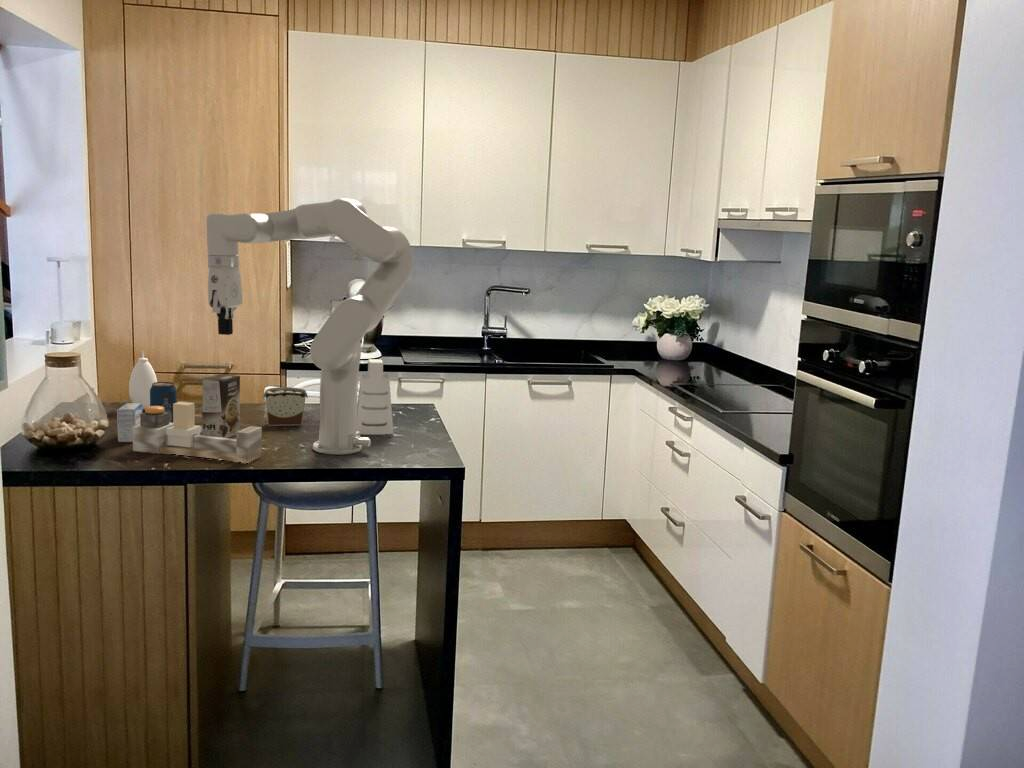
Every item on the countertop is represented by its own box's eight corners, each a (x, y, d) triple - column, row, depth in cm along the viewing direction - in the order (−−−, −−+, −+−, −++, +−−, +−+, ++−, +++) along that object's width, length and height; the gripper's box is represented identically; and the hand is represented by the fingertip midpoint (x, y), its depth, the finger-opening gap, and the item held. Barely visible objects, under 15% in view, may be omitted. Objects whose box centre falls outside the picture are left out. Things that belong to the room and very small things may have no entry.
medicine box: (135, 442, 233) (135, 409, 231) (117, 442, 232) (116, 409, 230) (143, 435, 240) (142, 403, 239) (125, 435, 239) (124, 402, 238)
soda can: (164, 422, 255) (163, 380, 253) (182, 426, 252) (182, 383, 250) (144, 426, 249) (143, 383, 247) (163, 430, 246) (163, 387, 244)
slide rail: (262, 456, 227) (262, 420, 225) (246, 464, 219) (247, 427, 217) (152, 443, 233) (151, 408, 231) (132, 450, 225) (132, 415, 223)
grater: (355, 434, 254) (357, 363, 251) (354, 425, 264) (356, 357, 261) (393, 434, 257) (395, 364, 253) (390, 425, 267) (392, 358, 263)
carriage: (201, 442, 228) (201, 402, 227) (188, 448, 223) (188, 406, 221) (180, 440, 230) (179, 400, 228) (166, 445, 224) (165, 404, 222)
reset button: (167, 421, 229) (167, 406, 228) (157, 425, 224) (157, 410, 224) (152, 420, 229) (151, 405, 229) (141, 423, 225) (141, 408, 225)
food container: (305, 420, 267) (305, 386, 266) (307, 425, 262) (307, 390, 260) (261, 420, 264) (261, 386, 262) (262, 425, 258) (263, 391, 256)
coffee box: (223, 441, 239) (223, 380, 236) (201, 438, 240) (201, 378, 237) (240, 433, 248) (241, 375, 245) (219, 431, 249) (219, 373, 246)
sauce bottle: (162, 410, 269) (162, 350, 266) (136, 413, 263) (135, 352, 260) (150, 405, 274) (149, 346, 271) (124, 408, 269) (123, 348, 265)
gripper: (223, 264, 224) (225, 338, 228) (250, 261, 239) (252, 331, 242) (194, 263, 226) (197, 337, 229) (223, 261, 240) (225, 330, 243)
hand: (225, 334), depth 236 cm, fingers closed
